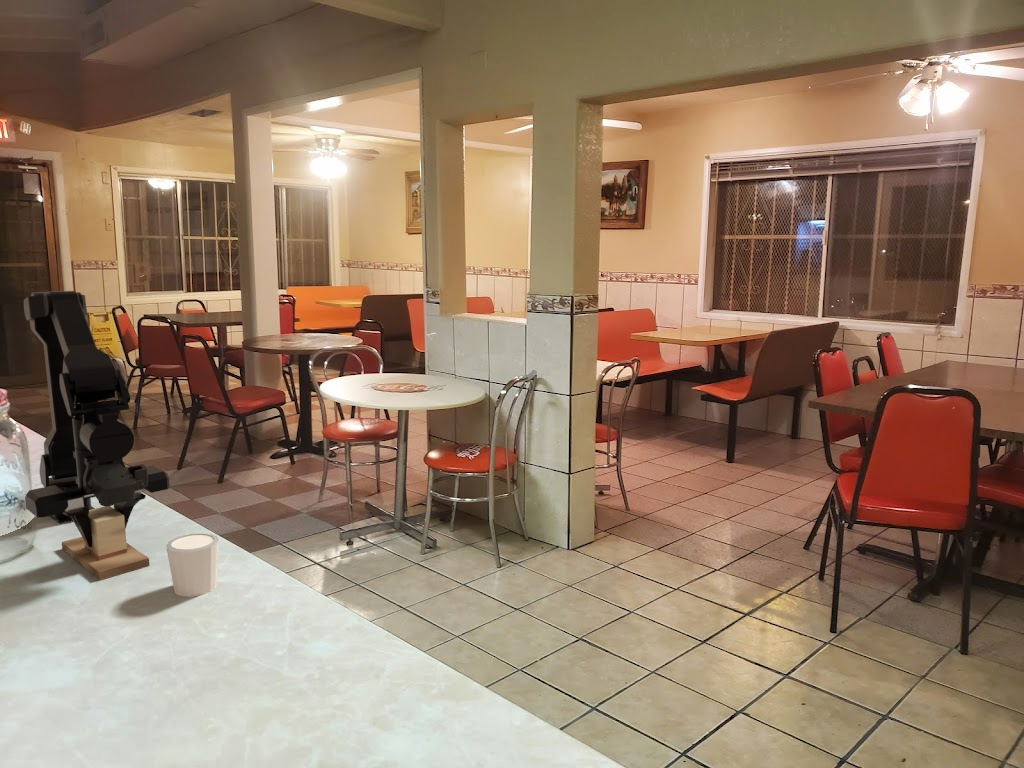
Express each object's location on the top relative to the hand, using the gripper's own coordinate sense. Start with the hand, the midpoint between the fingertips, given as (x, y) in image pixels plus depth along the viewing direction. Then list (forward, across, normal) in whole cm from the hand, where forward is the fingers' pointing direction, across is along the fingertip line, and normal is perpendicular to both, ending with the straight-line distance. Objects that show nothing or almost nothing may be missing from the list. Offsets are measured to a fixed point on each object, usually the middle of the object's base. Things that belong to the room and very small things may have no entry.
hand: (104, 542), depth 116 cm
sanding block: (+1, 0, 0) cm, 1 cm away
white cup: (+3, +5, -20) cm, 20 cm away
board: (+2, 0, 0) cm, 3 cm away
